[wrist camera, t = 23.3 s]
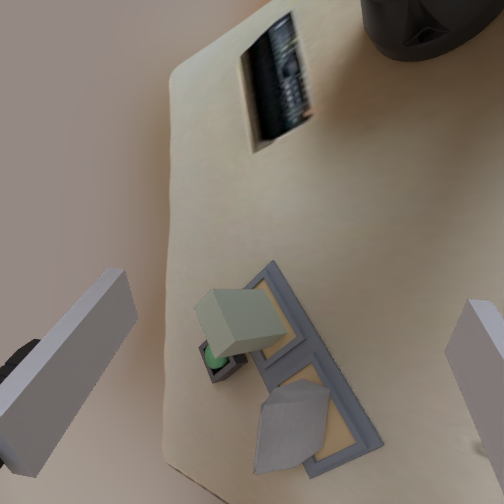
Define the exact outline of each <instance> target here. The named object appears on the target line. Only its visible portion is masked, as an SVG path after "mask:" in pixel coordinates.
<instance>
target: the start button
mask: <svg viewBox="0 0 504 504" xmlns="http://www.w3.org/2000/svg"><path fill="white" fill-rule="evenodd" d="M205 360H206V363H207V364H208V366H209V367H210V368H212V369H215V368H220V367H224V366H226V365H227V364H229V363H230V359H229V357H228V356H227V357H222V358H217V359H215V358H214V356H213V353H212V351H211V348H210V346H209V345H208V346H207V348H206V350H205Z"/></svg>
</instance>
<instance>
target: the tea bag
mask: <svg viewBox="0 0 504 504" xmlns="http://www.w3.org/2000/svg"><path fill="white" fill-rule="evenodd" d="M329 393H330V389H328V388H326V387H323V386H321V385H318V384H316V383H313V382H311V381H308V380H306V379H300V380H298V381H295V382H292V383H289V384H286V385H284V386H281V387H278V388H275V389H274V390H273V391H272V393H271V394H270V396H269V398H268V399H267V400H266V401H265V402H263V403H262V404H261V409H260V418H259V426H258V435H257V443H256V452H255V460H254V469H253V473H254V472H255V471H256V475H258V474H261V473H266V472H270V471H277V470H283V469H290V468H295V467H296V466H298V465H299V464H301V463H302V462H303V461H305V460H306V459H308V458H309V457H310V456H312V455H313V454H315V453H316V452H318V451H319V450H320V449H322V448H323V446H324V437H325V428H326V420H327V411H328V402H329Z"/></svg>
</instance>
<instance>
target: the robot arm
mask: <svg viewBox="0 0 504 504" xmlns="http://www.w3.org/2000/svg"><path fill="white" fill-rule="evenodd" d="M361 8H362V15H363V22H364V26H365V29H366V32H367V34H368V36H369V37H370V39H371V40H372V42H373V43H374V45H375V46H376V48H377V49H378V50H379V51H380V52H381V53H382V54H384V55H385V56H387V57H389V58H392V59H395V60H399V61H420V60H425V59H429V58H433V57H436V56H439V55H441V54H444V53H446V52H448V51H450V50H453V49H454V48H456V47H458V46H460V45H462V44H463V43H465V42H466V41H468V40H469V39H471V38H472V37H474V36H475V35H476V34H478V33H479V32H480V31H481V30H483V29H484V28H485V27H486V26H487V25H488V24H489V23H490V22H492V21H493V20H494V19H495V18H496V17H497V15H498V14H499V13H500V12H501V11H502V10H503V9H504V0H361ZM137 320H138V315H137V311H136V307H135V304H134V300H133V297H132V293H131V290H130V286H129V282H128V279H127V275H126V272H125V269H114V268H107V269H106V270H105V271H104V273H103V274H102V275H101V276H100V277H99V278H98V279H97V280H96V282H94V283H93V284H92V286H91V287H90V288H89V289H88V290H87V291H86V292H85V293H84V294H83V295H82V296H81V297H80V299H79V300H78V301H77V302H76V303H75V304H74V305H73V306H72V307H71V308H70V309H69V311H68V312H67V313H66V314H65V315H64V316H63V317H62V318H61V319H60V320H59V321H58V323H57V324H56V325H55V326H54V327H53V328H52V329H51V330H50V331H49V333H47V334H46V335H45V337H44V338H43V339H42V340H39V339H33V340H32V341H30V342H29V343H27V344H26V345H24V346H23V347H21V348H20V349H18V350H17V351H16V352H15V353H14V354H13V355H12V356H11V357H10V358H9V359H8V360H7V361H6V363H5V365H4V366H2V367H1V368H0V468H1V467H2V466H3V464H5V465H6V466H7V467H8V469H9V470H10V471H11V472H12V473H13V474H18V475H23V476H28V477H33V478H36V477H37V475H38V473H39V472H40V471H41V469H42V467H43V466H44V464H45V463H46V461H47V460H48V458H49V457H50V455H51V453H52V452H53V450H54V449H55V447H56V446H57V444H58V442H59V441H60V439H61V438H62V436H63V435H64V433H65V432H66V430H67V429H68V427H69V425H70V424H71V422H72V421H73V419H74V417H75V416H76V414H77V413H78V411H79V410H80V408H81V406H82V405H83V404H84V402H85V401H86V399H87V397H88V396H89V394H90V392H91V391H92V390H93V388H94V386H95V385H96V383H97V382H98V380H99V379H100V377H101V375H102V374H103V372H104V371H105V369H106V368H107V366H108V365H109V363H110V361H111V360H112V359H113V357H114V355H115V354H116V352H117V351H118V349H119V348H120V346H121V345H122V343H123V341H124V340H125V338H126V337H127V335H128V334H129V332H130V331H131V329H132V327H133V326H134V324H135V323H136V321H137ZM445 354H446V356H447V359H448V361H449V363H450V366H451V368H452V371H453V373H454V375H455V378H456V380H457V383H458V385H459V387H460V390H461V392H462V395H463V397H464V400H465V402H466V404H467V407H468V409H469V412H470V414H471V416H472V419H473V421H474V424H475V426H476V428H477V431H478V433H479V436H480V438H481V441H482V443H483V445H484V448H485V450H486V453H487V455H488V457H489V460H490V462H491V465H492V467H493V469H494V472H495V474H496V477H497V479H498V482H499V484H500V486H501V489H502V491H503V494H504V319H503V317H502V316H501V314H500V313H499V312H498V310H497V309H496V307H495V306H494V304H493V303H492V301H484V300H472V299H468V300H467V302H466V305H465V307H464V309H463V311H462V314H461V316H460V318H459V320H458V323H457V325H456V327H455V329H454V332H453V334H452V336H451V338H450V341H449V343H448V345H447V347H446V350H445Z"/></svg>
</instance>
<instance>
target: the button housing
mask: <svg viewBox="0 0 504 504" xmlns="http://www.w3.org/2000/svg"><path fill="white" fill-rule="evenodd" d="M208 345H209V344H208V341H207V340H206V341H205V342H204V343H203V344H201V345H200V346H199V347H198V348H199V350H200V353H201V355H202V358H203V360H204V363H205V366H206V368H207V371H208V373H209V376H210V378H211V381H212V383H217V382H220V381H224V380H226V379H227V378H228V377H229V376H231V375H232V374H233V373H234V372H236V371H237V370H238V369H239V368H241V367H242V366H243V365H244V364H246V363H247V362H248V361H247V358H246V356H245V354H244V353H242V354H237V355H232V356H228V357H229V359H230V363H229V364H227V365H226V366H225V367H224V368H223V367H220V368H215V369H212V368H210V367H209V366H208V364H207V363H206V360H205V350H206V348H207V346H208Z"/></svg>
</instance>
